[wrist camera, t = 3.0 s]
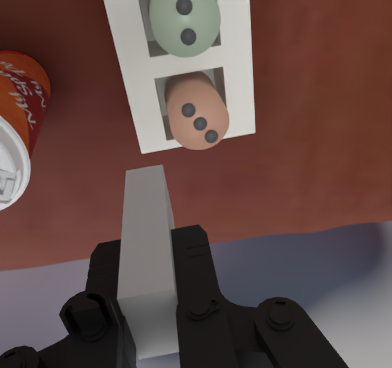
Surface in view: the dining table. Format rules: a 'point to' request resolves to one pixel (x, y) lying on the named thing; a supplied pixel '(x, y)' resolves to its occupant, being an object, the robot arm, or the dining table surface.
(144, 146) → the panel
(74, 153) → the dining table surface
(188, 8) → the button two
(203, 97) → the button three
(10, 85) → the coffee cup
